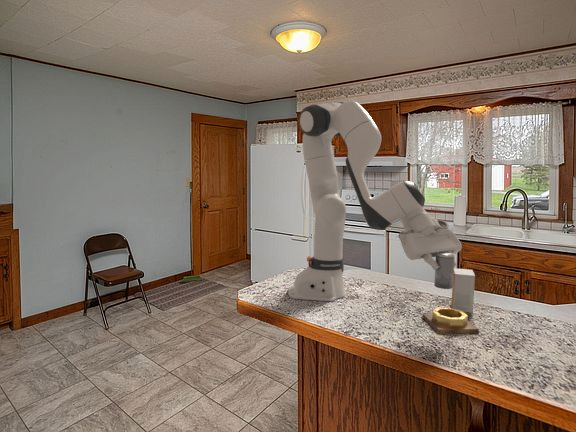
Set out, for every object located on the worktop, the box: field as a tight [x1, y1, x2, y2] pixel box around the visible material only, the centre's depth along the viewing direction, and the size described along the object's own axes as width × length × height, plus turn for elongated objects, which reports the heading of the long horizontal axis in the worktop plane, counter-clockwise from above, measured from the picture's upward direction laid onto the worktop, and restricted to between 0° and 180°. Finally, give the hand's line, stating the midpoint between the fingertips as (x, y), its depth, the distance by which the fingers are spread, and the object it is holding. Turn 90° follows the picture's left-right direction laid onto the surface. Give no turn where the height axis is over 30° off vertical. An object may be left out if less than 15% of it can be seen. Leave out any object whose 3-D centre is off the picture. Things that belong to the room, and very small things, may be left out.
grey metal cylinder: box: [433, 252, 455, 290], centre depth 106 cm, size 5×5×10 cm
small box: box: [451, 267, 476, 314], centre depth 125 cm, size 8×6×13 cm
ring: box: [431, 307, 468, 327], centre depth 111 cm, size 9×9×2 cm
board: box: [422, 313, 480, 334], centre depth 112 cm, size 12×12×1 cm
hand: (445, 267), depth 105 cm, fingers closed on grey metal cylinder, 5 cm apart
